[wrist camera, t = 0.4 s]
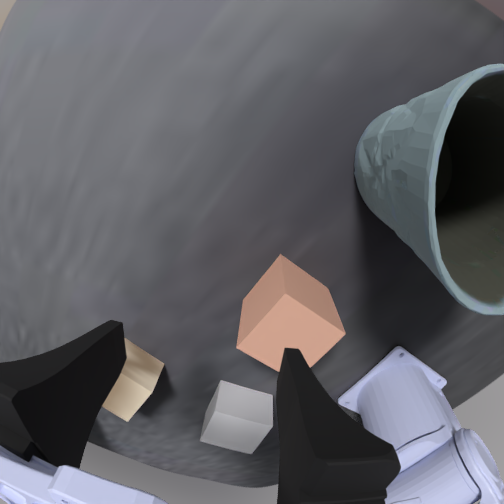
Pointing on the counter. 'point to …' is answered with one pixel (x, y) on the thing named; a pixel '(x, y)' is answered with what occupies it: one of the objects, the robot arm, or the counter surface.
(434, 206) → the teal round container
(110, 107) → the counter surface
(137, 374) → the oak base block
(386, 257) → the counter surface
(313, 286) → the terracotta block
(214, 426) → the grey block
